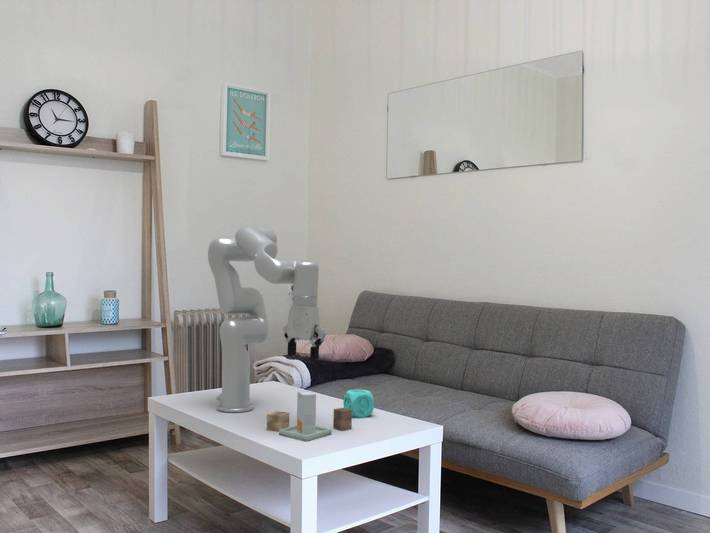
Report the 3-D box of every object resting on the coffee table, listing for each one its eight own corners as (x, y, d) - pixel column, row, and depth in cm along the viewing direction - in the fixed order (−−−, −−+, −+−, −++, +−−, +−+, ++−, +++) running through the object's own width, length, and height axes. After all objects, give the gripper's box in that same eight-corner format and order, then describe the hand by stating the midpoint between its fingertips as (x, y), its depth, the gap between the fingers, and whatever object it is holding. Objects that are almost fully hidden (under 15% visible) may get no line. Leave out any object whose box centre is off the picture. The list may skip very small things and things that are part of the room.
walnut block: (333, 428, 208) (333, 409, 208) (343, 426, 211) (343, 407, 211) (341, 431, 205) (341, 411, 205) (351, 429, 208) (351, 409, 208)
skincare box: (296, 430, 202) (297, 390, 202) (309, 429, 203) (310, 390, 203) (302, 435, 196) (302, 394, 196) (316, 434, 198) (316, 393, 198)
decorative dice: (364, 411, 232) (364, 388, 232) (374, 416, 225) (374, 393, 225) (343, 413, 229) (343, 390, 229) (351, 418, 222) (352, 394, 222)
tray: (279, 434, 199) (279, 429, 199) (304, 428, 208) (304, 423, 208) (306, 441, 192) (306, 436, 192) (331, 434, 201) (331, 429, 201)
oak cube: (266, 430, 204) (266, 414, 204) (275, 426, 209) (275, 410, 209) (280, 432, 202) (281, 415, 202) (289, 428, 207) (289, 412, 207)
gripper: (276, 299, 209) (274, 354, 209) (317, 304, 198) (314, 362, 198) (293, 299, 215) (291, 352, 215) (334, 303, 203) (331, 359, 204)
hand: (302, 357), depth 207 cm, fingers open, 9 cm apart
